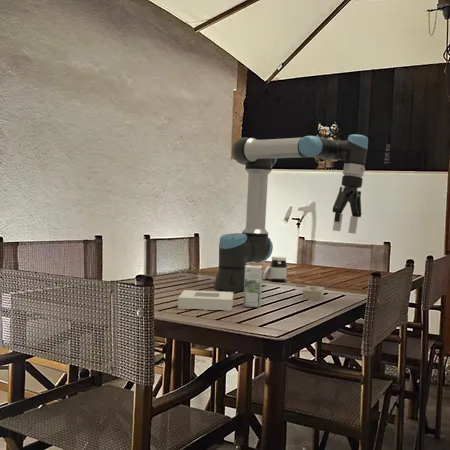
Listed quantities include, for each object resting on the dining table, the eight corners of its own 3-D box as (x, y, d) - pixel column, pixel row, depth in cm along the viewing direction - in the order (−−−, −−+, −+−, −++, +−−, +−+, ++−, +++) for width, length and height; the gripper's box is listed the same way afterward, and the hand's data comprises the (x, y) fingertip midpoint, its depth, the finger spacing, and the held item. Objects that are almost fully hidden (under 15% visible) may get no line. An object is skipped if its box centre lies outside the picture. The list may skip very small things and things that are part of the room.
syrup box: (261, 305, 196) (262, 265, 195) (259, 308, 190) (260, 266, 189) (245, 304, 197) (247, 264, 196) (243, 307, 191) (244, 265, 190)
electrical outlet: (324, 284, 228) (321, 291, 210) (323, 294, 228) (320, 301, 210) (307, 283, 229) (302, 289, 212) (306, 293, 229) (302, 300, 212)
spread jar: (287, 283, 256) (288, 258, 256) (263, 282, 256) (263, 257, 256) (284, 279, 268) (285, 256, 268) (261, 278, 268) (262, 255, 268)
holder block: (177, 309, 183) (178, 297, 183) (183, 301, 199) (184, 290, 199) (231, 311, 182) (231, 299, 182) (233, 303, 198) (233, 292, 198)
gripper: (347, 171, 193) (338, 231, 193) (375, 181, 212) (366, 235, 213) (328, 170, 197) (320, 228, 198) (357, 180, 217) (349, 232, 217)
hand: (344, 232), depth 205 cm, fingers open, 13 cm apart
